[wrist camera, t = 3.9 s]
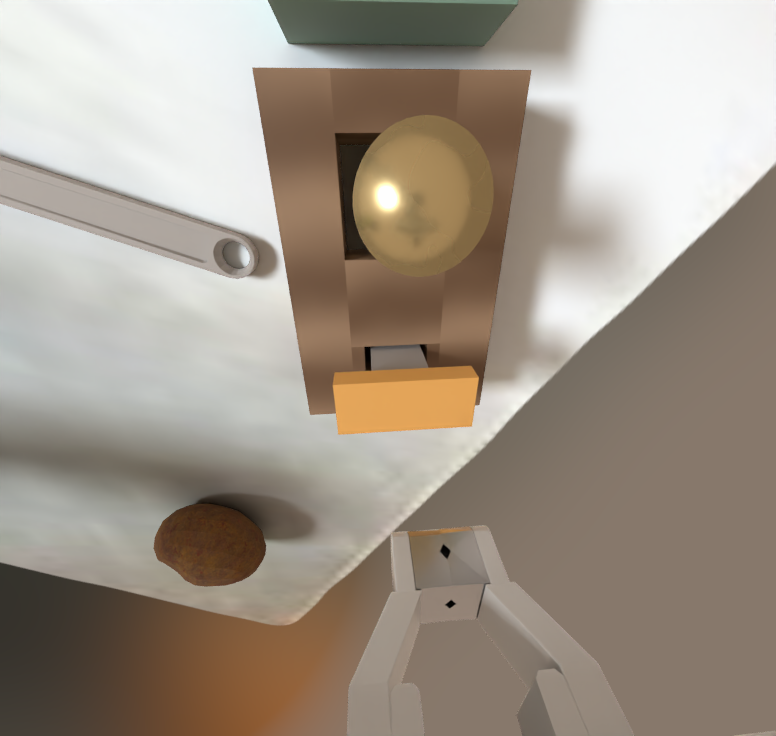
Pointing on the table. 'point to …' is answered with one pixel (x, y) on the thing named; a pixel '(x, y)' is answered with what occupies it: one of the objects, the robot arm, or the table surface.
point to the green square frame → (391, 21)
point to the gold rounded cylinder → (423, 195)
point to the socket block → (327, 215)
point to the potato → (210, 544)
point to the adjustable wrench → (120, 218)
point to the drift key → (403, 393)
